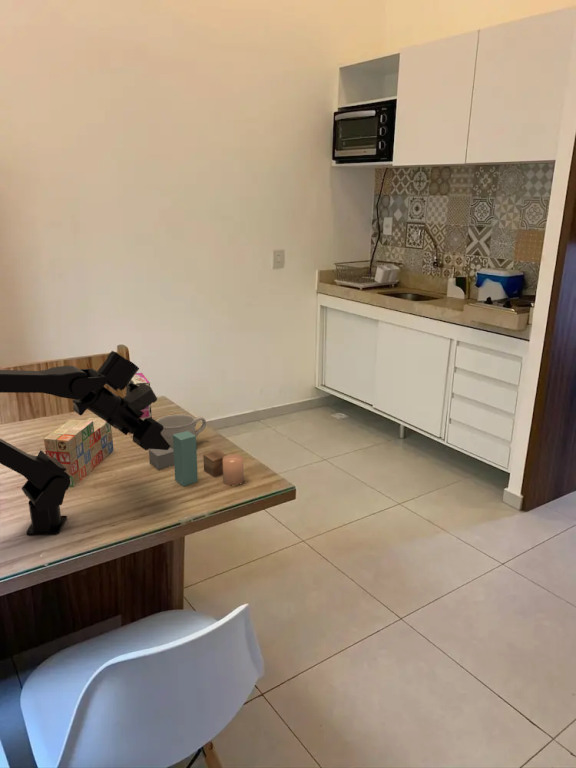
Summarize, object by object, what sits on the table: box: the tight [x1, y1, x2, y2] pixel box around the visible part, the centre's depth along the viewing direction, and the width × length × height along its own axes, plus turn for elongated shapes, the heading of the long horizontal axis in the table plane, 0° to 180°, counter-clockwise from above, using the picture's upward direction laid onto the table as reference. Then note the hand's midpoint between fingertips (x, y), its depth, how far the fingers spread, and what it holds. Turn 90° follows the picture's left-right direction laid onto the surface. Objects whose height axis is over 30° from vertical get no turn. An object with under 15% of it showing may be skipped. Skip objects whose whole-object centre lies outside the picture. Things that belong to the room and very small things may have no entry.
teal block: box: [173, 431, 199, 487], centre depth 139 cm, size 4×4×12 cm
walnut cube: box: [202, 449, 227, 478], centre depth 145 cm, size 4×4×4 cm
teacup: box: [155, 413, 207, 449], centre depth 159 cm, size 14×11×8 cm
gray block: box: [148, 448, 174, 471], centre depth 149 cm, size 5×5×4 cm
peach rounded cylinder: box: [222, 453, 245, 486], centre depth 140 cm, size 5×5×6 cm
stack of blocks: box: [43, 417, 114, 488], centre depth 146 cm, size 21×6×12 cm, turn 170°
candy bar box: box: [128, 372, 153, 421], centre depth 167 cm, size 11×5×16 cm, turn 25°
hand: (159, 441), depth 133 cm, fingers open, 9 cm apart
